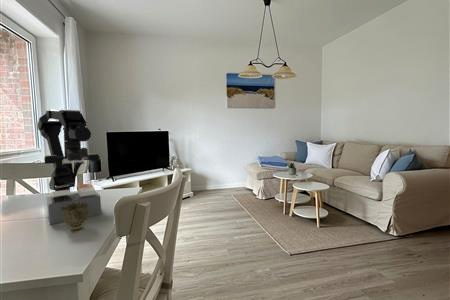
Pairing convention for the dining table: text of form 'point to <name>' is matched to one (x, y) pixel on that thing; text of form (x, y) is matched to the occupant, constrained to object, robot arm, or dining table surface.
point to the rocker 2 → (85, 189)
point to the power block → (57, 202)
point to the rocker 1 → (60, 193)
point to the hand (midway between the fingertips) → (73, 179)
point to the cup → (75, 215)
